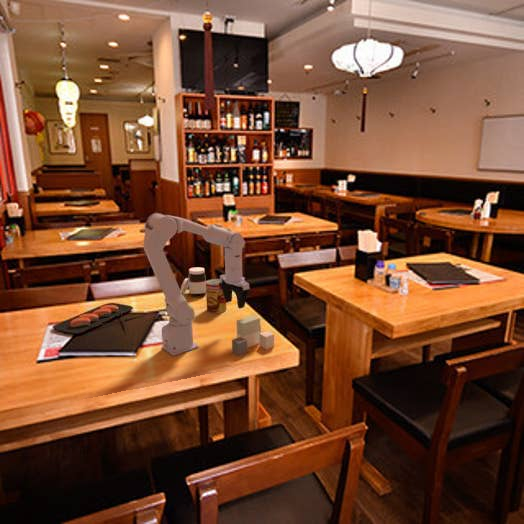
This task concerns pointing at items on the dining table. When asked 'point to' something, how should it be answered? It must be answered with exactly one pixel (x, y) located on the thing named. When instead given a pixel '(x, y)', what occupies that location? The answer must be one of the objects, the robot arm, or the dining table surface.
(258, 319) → the sage green brick
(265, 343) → the pale grey cube brick
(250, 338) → the cream brick
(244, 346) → the charcoal cube brick
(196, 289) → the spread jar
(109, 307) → the sushi plate
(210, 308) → the canned food
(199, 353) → the dining table surface
